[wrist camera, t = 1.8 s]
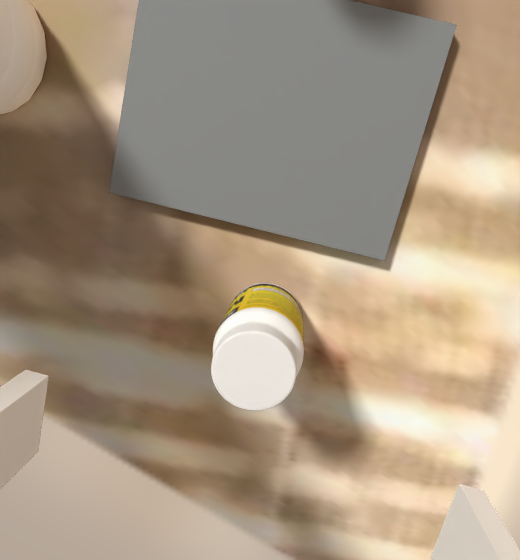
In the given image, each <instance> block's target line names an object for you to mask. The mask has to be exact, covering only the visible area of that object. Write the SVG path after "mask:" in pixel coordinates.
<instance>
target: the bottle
mask: <svg viewBox="0 0 520 560" xmlns="http://www.w3.org/2000/svg"><path fill="white" fill-rule="evenodd" d="M46 59H47V54H46V43H45V33H44V30H43V27H42V25H41V23H40V20H39V18H38V15H37V13H36V11H35V8H34V7H33V6H32V5H31V3H30V2H29V1H28V0H0V114H4V113H9V112H13V111H14V110H15V109H17V108H18V107H20V106H21V105H22V104H24V103H25V102H27V101H28V100H29V99H30V98H31V96H32V95H33V93H34V92H35V90H36V89H37V87H38V85H39V84H40V82H41V81H42V77H43V72H44V68H45V63H46Z"/></svg>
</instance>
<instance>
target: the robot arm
mask: <svg viewBox="0 0 520 560" xmlns="http://www.w3.org/2000/svg"><path fill="white" fill-rule="evenodd" d="M48 378H49V376H48V375H44V374H40V373H36V372H33V371H29V370H24V371H23V372H21V373H20V374H18V375H17V376H15V377H14V378H12V379H11V380H9V381H8V382H6V383H5V384H3V385H2V386H0V489H1V488H2V487H3V486H4V485H5V484H6V483H7V482H8V481H9V480H10V479H11V478H12V477H13V476H14V475H15V474H16V473H17V472H18V471H19V470H20V469H21V468H22V467H23V466H24V465H25V464H26V463H27V462H28V461H29V460H30V459H31V458H32V457H33V456H34V455H35V454H36V453H37V452H38V449H39V442H40V434H41V428H42V420H43V413H44V406H45V399H46V392H47V385H48ZM431 560H520V549H519V548H518V546H517V544H516V543H515V541H514V539H513V538H512V536H511V534H510V533H509V531H508V529H507V528H506V526H505V525H504V523H503V521H502V520H501V518H500V517H499V515H498V513H497V511H496V510H495V508H494V506H493V505H492V503H491V502H490V500H489V498H488V497H487V495H486V493H485V492H484V491H483V490H480V489H476V488H472V487H468V486H465V485H461V484H459V485H458V488H457V491H456V493H455V496H454V498H453V501H452V503H451V506H450V509H449V511H448V514H447V516H446V519H445V522H444V524H443V527H442V529H441V532H440V534H439V537H438V540H437V542H436V545H435V547H434V550H433V552H432V555H431Z"/></svg>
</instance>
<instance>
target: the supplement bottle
mask: <svg viewBox="0 0 520 560" xmlns="http://www.w3.org/2000/svg"><path fill="white" fill-rule="evenodd" d="M303 356H304V343H303V317H302V311H301V307H300V305H299V303H298V301H297V299H296V298H295V297H294V296H293V294H292V293H291V292H289V291H288V290H287V289H285V288H283V287H281V286H279V285H276V284H272V283H258V284H254V285H251V286H249V287H247V288H245V289H244V290H242V291H241V292H240V293H239V294H238V295H237V296H236V297H235V299H234V300H233V302H232V304H231V306H230V308H229V309H228V311H227V313H226V315H225V317H224V319H223V321H222V323H221V325H220V326H219V328H218V330H217V332H216V335H215V339H214V343H213V359H212V364H211V374H212V379H213V383H214V385H215V387H216V389H217V390H218V392H219V393H220V395H221V396H222V397H223V398H224V399H225V400H226V401H228V402H229V403H231V404H232V405H234V406H236V407H238V408H241V409H245V410H252V411H258V410H265V409H269V408H272V407H274V406H276V405H278V404H279V403H281V402H282V401H283V400H284V399H285V398H286V397H287V396H288V395H289V393H290V392H291V390H292V389H293V386H294V384H295V381H296V376H297V375H298V373H299V371H300V369H301V366H302V363H303Z"/></svg>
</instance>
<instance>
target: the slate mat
mask: <svg viewBox="0 0 520 560" xmlns="http://www.w3.org/2000/svg"><path fill="white" fill-rule="evenodd" d="M456 26H457V25H455V24H451V23H447V22H442V21H438V20H434V19H429V18H425V17H421V16H417V15H412V14H408V13H404V12H399V11H395V10H391V9H387V8H382V7H378V6H374V5H369V4H365V3H361V2H356V1H352V0H139V3H138V9H137V16H136V22H135V28H134V35H133V41H132V48H131V54H130V60H129V67H128V73H127V80H126V86H125V92H124V99H123V105H122V112H121V118H120V124H119V131H118V137H117V144H116V150H115V156H114V163H113V169H112V175H111V182H110V188H109V193H113V194H117V195H121V196H125V197H129V198H133V199H137V200H141V201H145V202H149V203H153V204H157V205H162V206H166V207H170V208H174V209H178V210H182V211H186V212H190V213H194V214H198V215H202V216H206V217H210V218H214V219H218V220H222V221H226V222H230V223H234V224H238V225H243V226H247V227H251V228H255V229H259V230H263V231H267V232H271V233H275V234H279V235H283V236H287V237H291V238H295V239H299V240H303V241H307V242H311V243H315V244H319V245H324V246H328V247H332V248H336V249H340V250H344V251H348V252H352V253H356V254H360V255H364V256H368V257H372V258H376V259H380V260H384V261H385V257H386V254H387V251H388V248H389V244H390V241H391V238H392V235H393V231H394V228H395V225H396V222H397V218H398V215H399V212H400V208H401V205H402V202H403V199H404V195H405V192H406V189H407V186H408V182H409V179H410V176H411V173H412V169H413V166H414V163H415V160H416V156H417V153H418V150H419V147H420V143H421V140H422V137H423V133H424V130H425V127H426V124H427V120H428V117H429V114H430V111H431V107H432V104H433V101H434V98H435V94H436V91H437V88H438V85H439V81H440V78H441V75H442V72H443V68H444V65H445V62H446V59H447V55H448V52H449V49H450V45H451V42H452V39H453V36H454V32H455V29H456Z"/></svg>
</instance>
